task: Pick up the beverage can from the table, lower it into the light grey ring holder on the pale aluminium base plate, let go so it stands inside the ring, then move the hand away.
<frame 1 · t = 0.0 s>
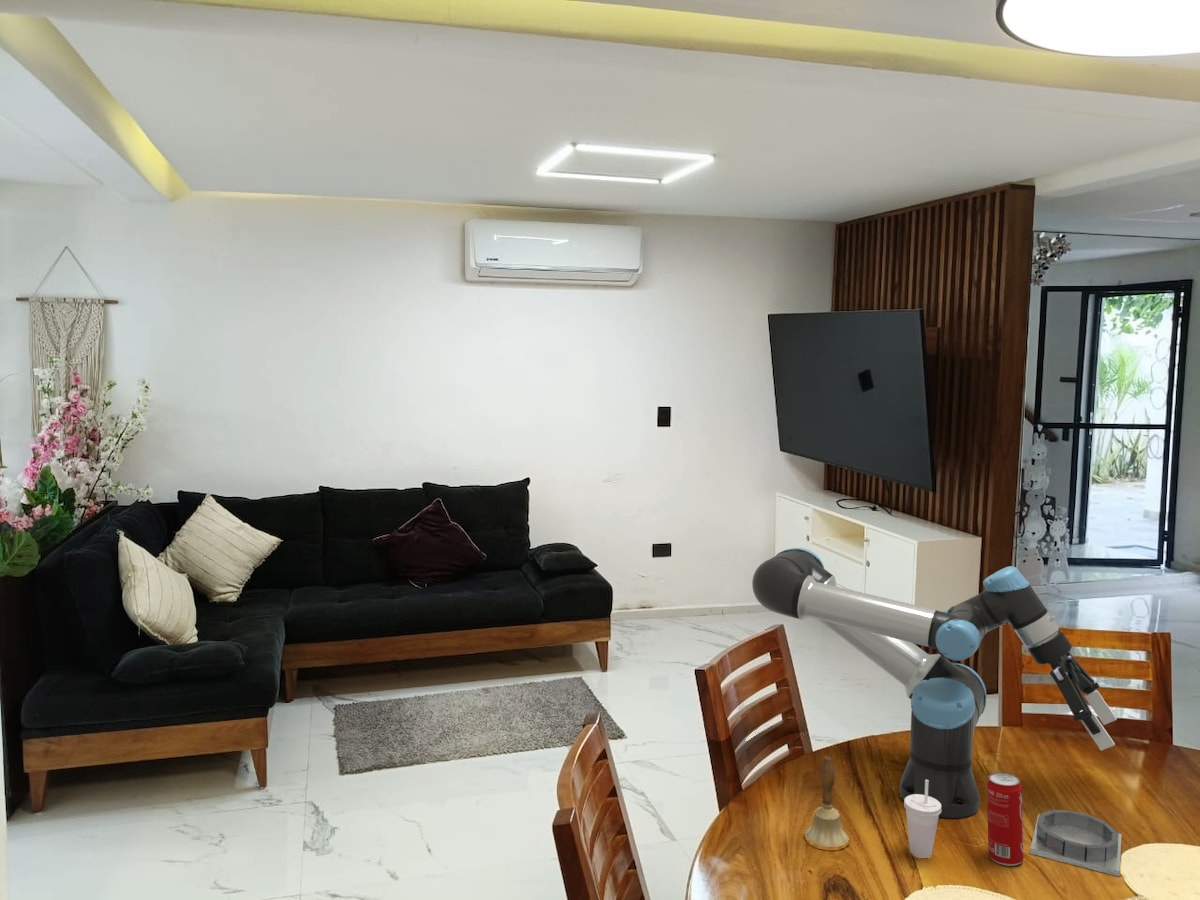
hand: (1109, 734, 178), 15 cm above the table, tool tilted 35°, fingers open, 13 cm apart
hand bell: (826, 840, 168), on the table
beverage can: (1003, 859, 162), on the table
collar: (1076, 846, 166), on the table
smoothie: (920, 854, 163), on the table
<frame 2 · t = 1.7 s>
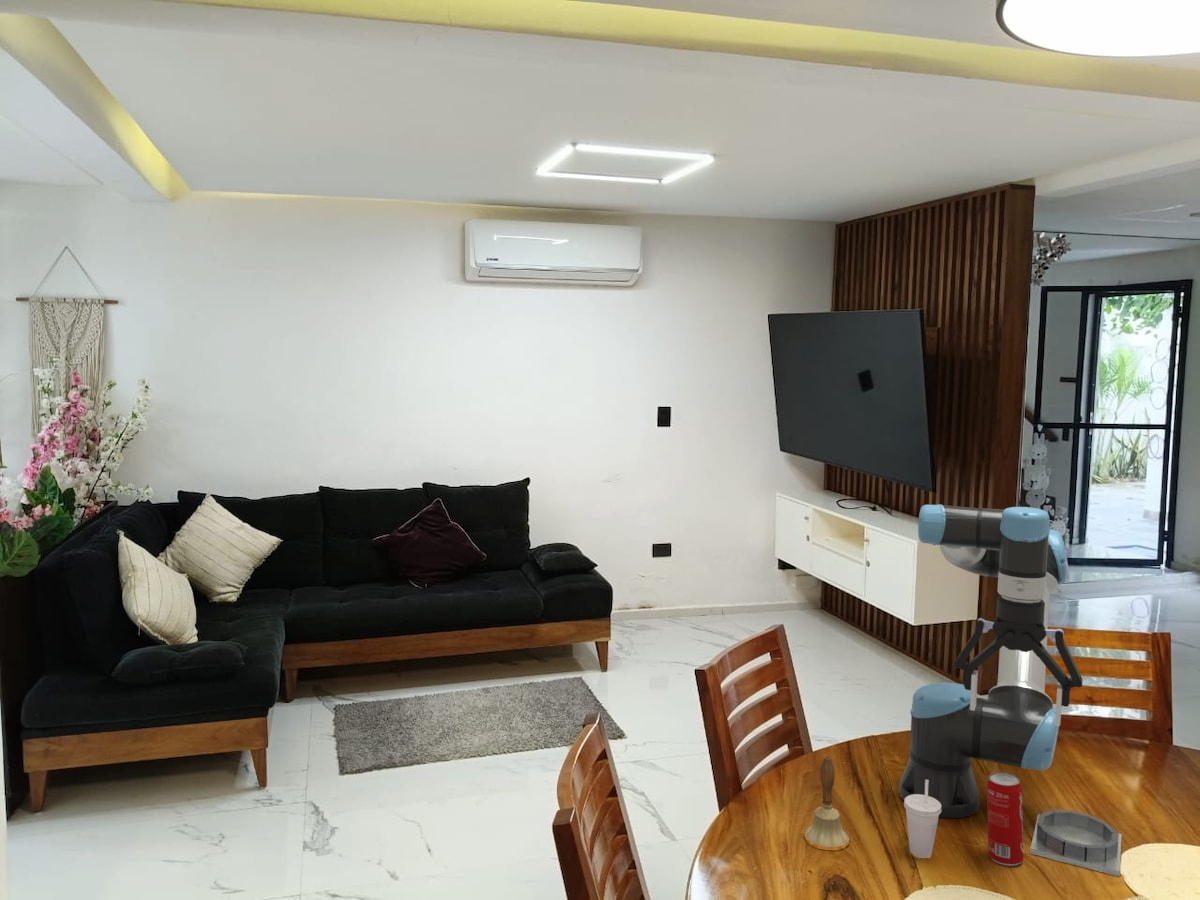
hand: (1014, 715, 159), 27 cm above the table, tool pointing down, fingers open, 13 cm apart
nothing on the table moved.
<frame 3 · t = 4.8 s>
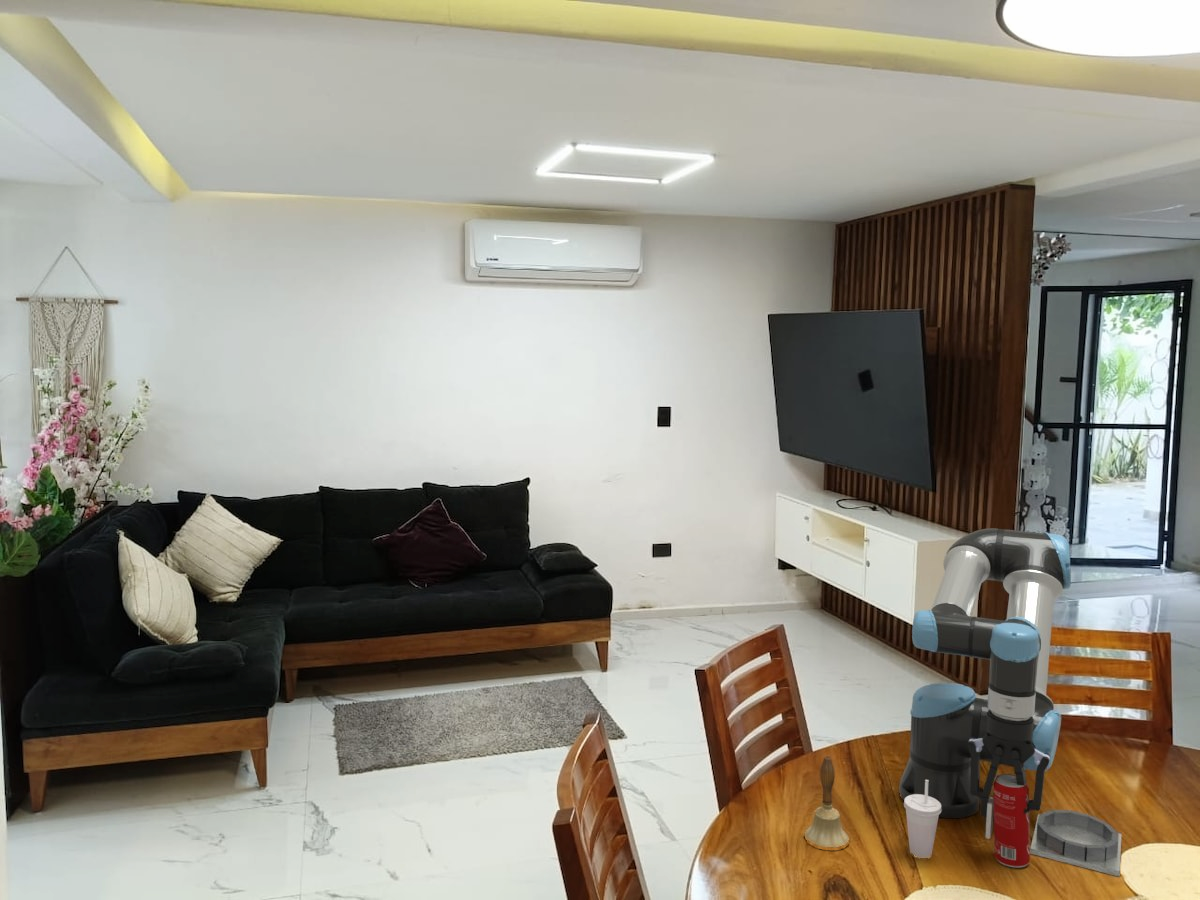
hand: (1003, 838, 161), 4 cm above the table, tool pointing down, fingers closed on beverage can, 4 cm apart
beverage can: (1009, 860, 161), on the table, touching gripper
everything else where it was.
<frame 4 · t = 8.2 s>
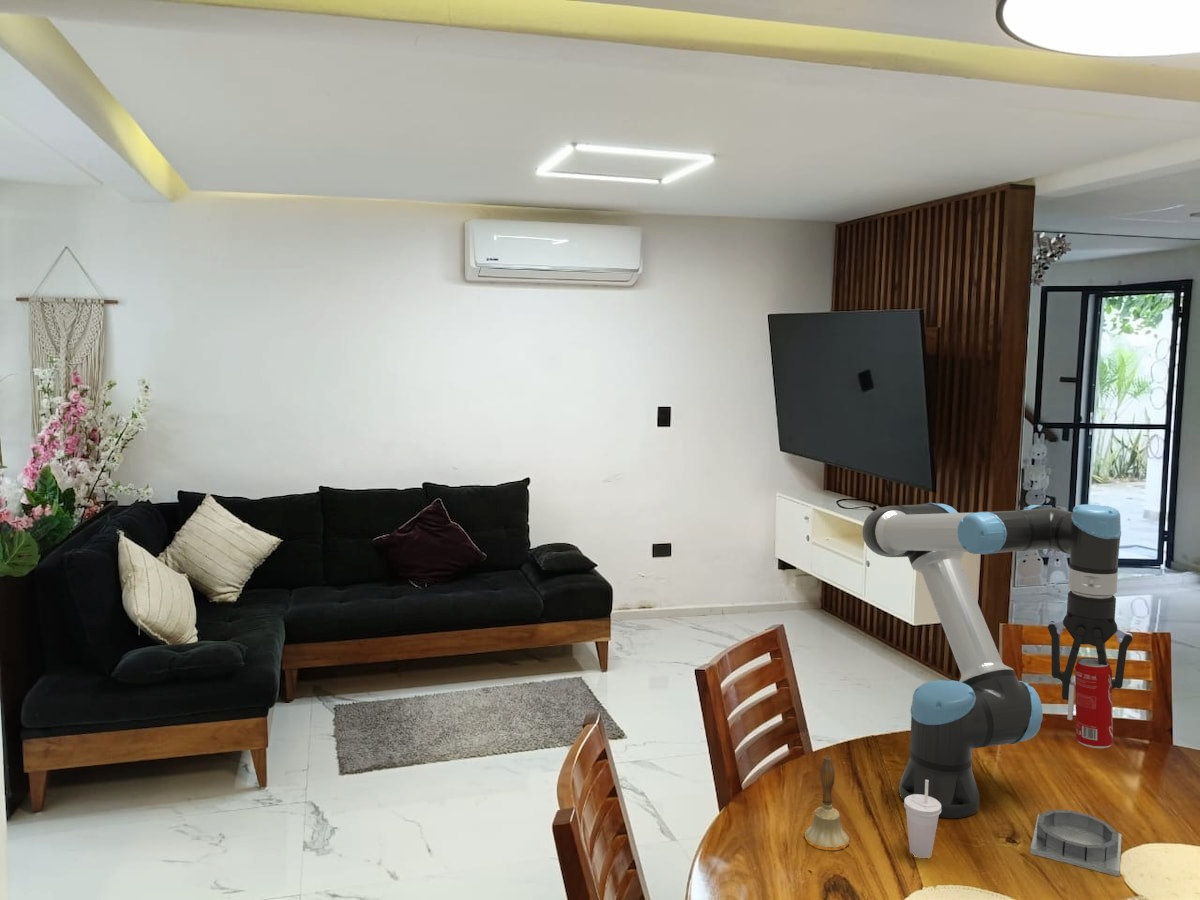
hand: (1084, 719, 163), 24 cm above the table, tool pointing down, fingers closed on beverage can, 4 cm apart
beverage can: (1091, 743, 162), point 20 cm above the table, touching gripper
everything else where it was.
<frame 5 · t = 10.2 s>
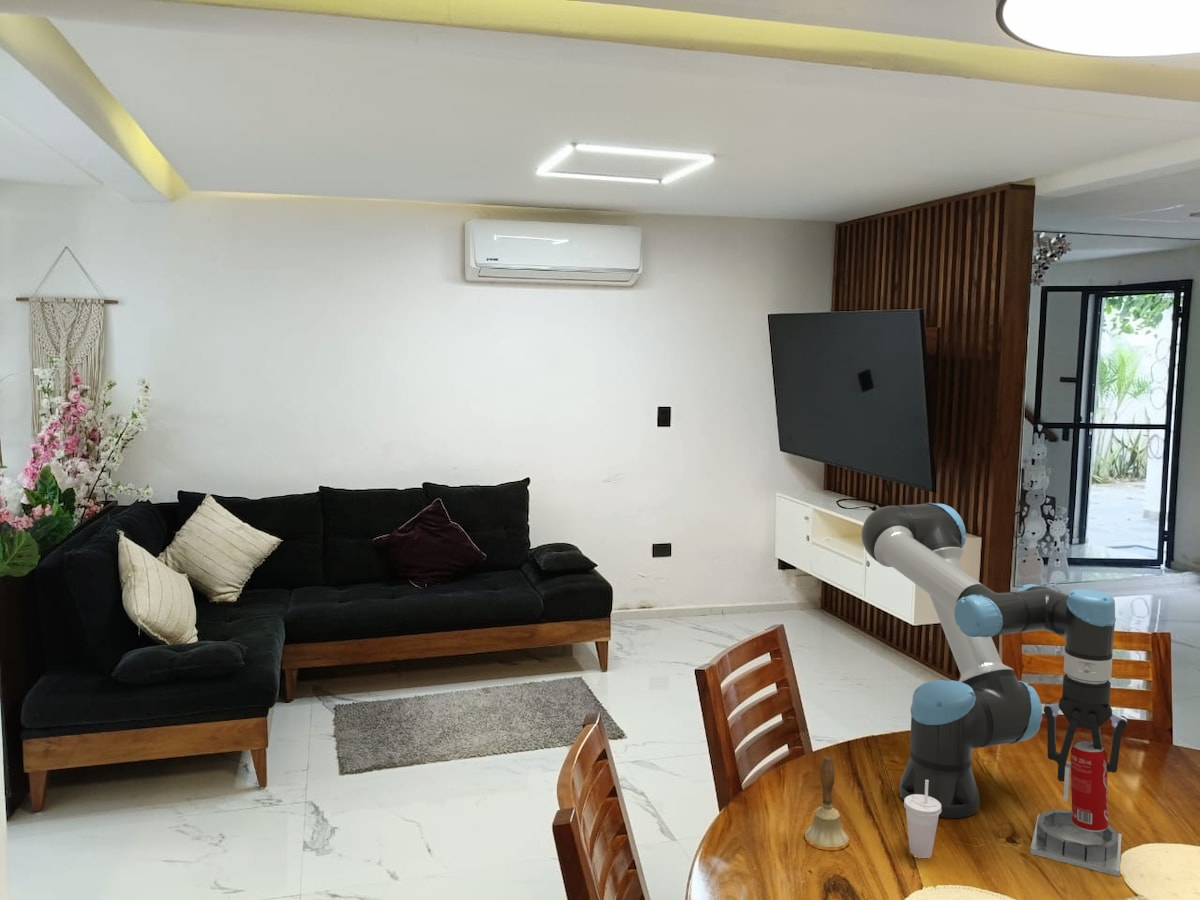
hand: (1079, 801, 165), 9 cm above the table, tool pointing down, fingers closed on beverage can, 4 cm apart
beverage can: (1086, 826, 164), point 5 cm above the table, touching gripper
everything else where it was.
when the fingers open (6 cm above the table, at t = 11.4 s): beverage can drops 1 cm, resting on collar.
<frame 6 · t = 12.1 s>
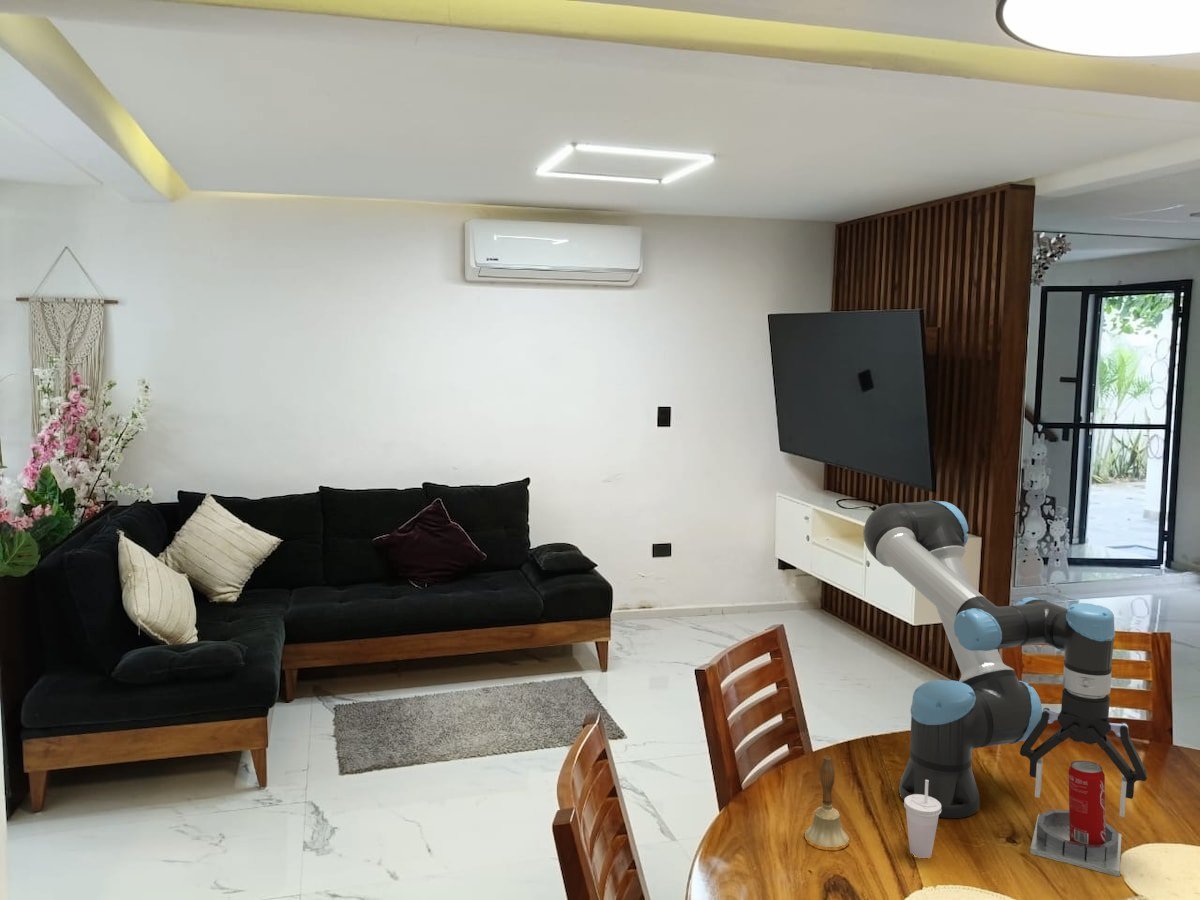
hand: (1079, 803, 165), 8 cm above the table, tool pointing down, fingers open, 13 cm apart
beverage can: (1084, 846, 164), point 1 cm above the table, touching collar
everything else where it was.
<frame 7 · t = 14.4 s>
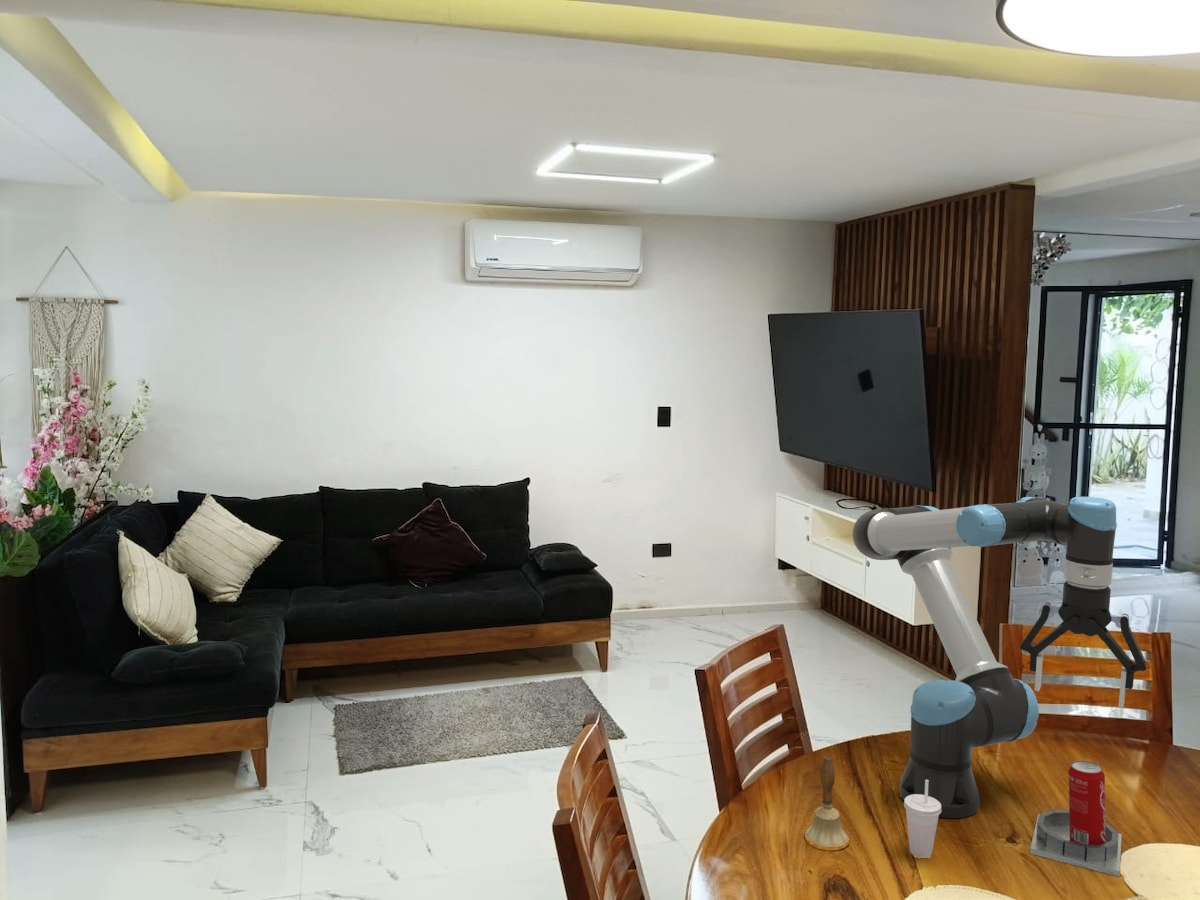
hand: (1078, 696, 166), 27 cm above the table, tool pointing down, fingers open, 13 cm apart
nothing on the table moved.
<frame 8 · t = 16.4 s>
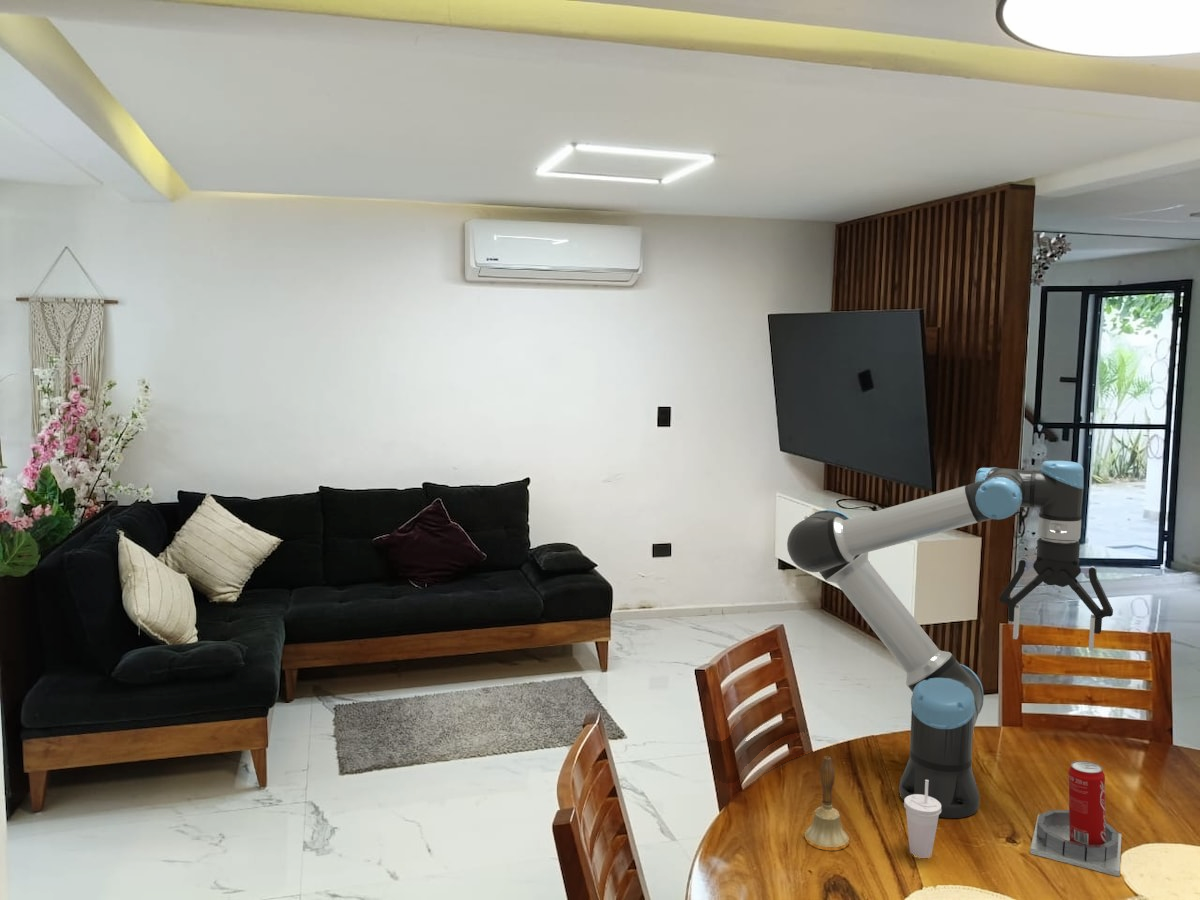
hand: (1052, 643, 182), 32 cm above the table, tool pointing down, fingers open, 13 cm apart
nothing on the table moved.
at the end: beverage can 1.5 cm off-centre on the collar, point 0.8 cm above the collar's base; beverage can tilted 0°; the gripper is holding nothing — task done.
